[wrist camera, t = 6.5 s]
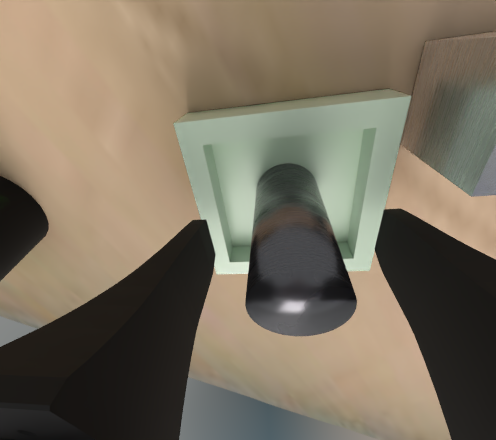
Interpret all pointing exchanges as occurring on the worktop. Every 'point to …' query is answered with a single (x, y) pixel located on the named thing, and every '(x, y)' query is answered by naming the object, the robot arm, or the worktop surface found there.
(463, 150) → the block
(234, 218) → the green tray
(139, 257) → the worktop surface
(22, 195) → the cup
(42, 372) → the robot arm
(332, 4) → the worktop surface
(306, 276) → the steel pin
